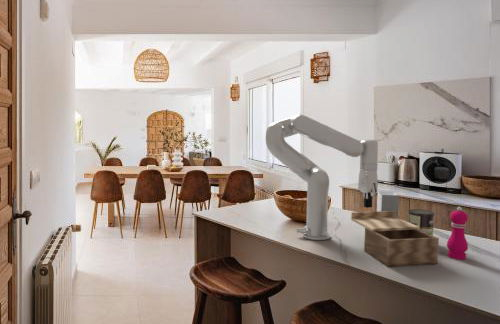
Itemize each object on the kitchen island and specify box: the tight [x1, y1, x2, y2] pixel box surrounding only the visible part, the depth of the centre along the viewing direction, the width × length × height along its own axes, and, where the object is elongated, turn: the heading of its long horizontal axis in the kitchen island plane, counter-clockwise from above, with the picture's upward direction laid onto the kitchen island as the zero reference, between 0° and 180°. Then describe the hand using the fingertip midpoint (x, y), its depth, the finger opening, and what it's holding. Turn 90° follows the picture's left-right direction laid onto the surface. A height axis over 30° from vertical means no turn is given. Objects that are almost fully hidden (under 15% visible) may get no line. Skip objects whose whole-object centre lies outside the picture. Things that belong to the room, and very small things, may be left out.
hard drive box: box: [376, 189, 400, 218], centre depth 180 cm, size 16×8×20 cm, turn 168°
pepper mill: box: [446, 206, 469, 260], centre depth 147 cm, size 7×7×20 cm
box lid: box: [350, 210, 419, 231], centre depth 158 cm, size 20×18×4 cm
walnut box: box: [363, 227, 440, 268], centre depth 147 cm, size 20×18×10 cm
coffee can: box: [408, 208, 435, 236], centre depth 166 cm, size 10×10×14 cm
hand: (367, 207), depth 172 cm, fingers closed
